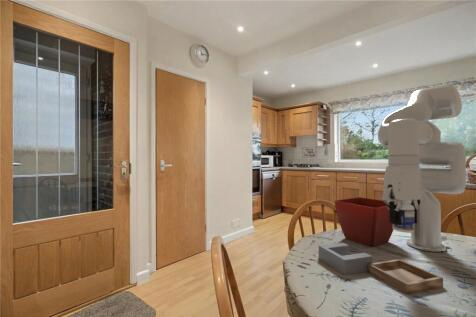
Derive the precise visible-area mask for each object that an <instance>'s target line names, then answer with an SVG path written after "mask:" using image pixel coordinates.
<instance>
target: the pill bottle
mask: <svg viewBox="0 0 476 317" xmlns="http://www.w3.org/2000/svg"><path fill="white" fill-rule="evenodd" d="M411 203H412V200H406V201H401V205H400V209H399V211H401V225H396V224H393V223H392V228H393V229H394V230H393V231H396V232H400V233H406V234H407V233H410V234H411V233H412V232H414V210H415V209H414V206H412V205H411ZM395 205H396V204H395Z"/></svg>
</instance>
